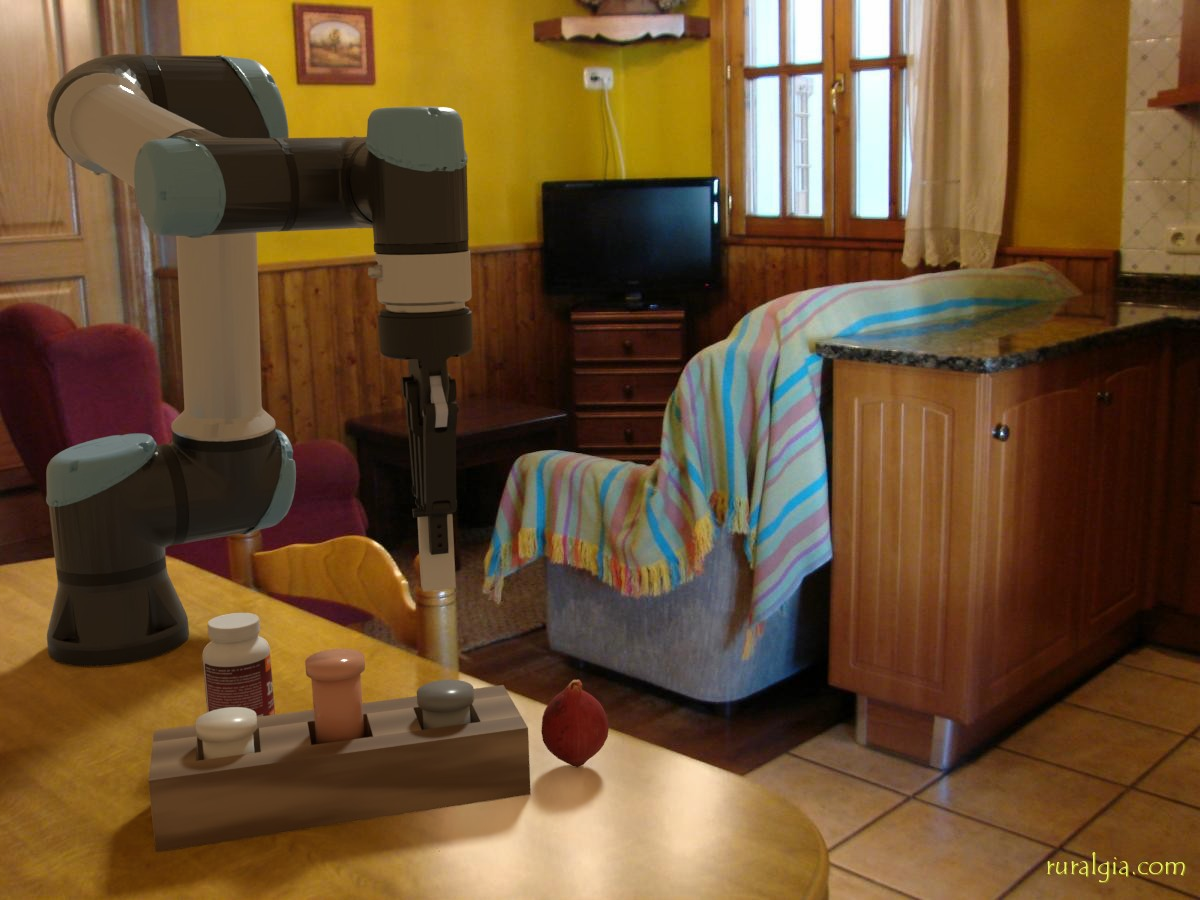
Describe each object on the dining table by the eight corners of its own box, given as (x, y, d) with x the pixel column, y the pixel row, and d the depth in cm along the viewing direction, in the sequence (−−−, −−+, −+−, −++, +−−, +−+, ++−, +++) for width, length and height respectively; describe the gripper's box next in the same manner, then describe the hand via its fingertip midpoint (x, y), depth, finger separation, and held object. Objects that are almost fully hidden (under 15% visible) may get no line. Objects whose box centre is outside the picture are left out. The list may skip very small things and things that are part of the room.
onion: (560, 786, 112) (557, 698, 110) (532, 761, 117) (528, 676, 115) (620, 771, 115) (618, 684, 113) (590, 747, 120) (587, 663, 118)
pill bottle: (286, 733, 125) (277, 622, 122) (221, 750, 121) (211, 636, 119) (263, 712, 130) (254, 605, 127) (200, 728, 126) (190, 618, 124)
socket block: (160, 796, 112) (154, 730, 111) (506, 746, 120) (503, 684, 119) (155, 852, 103) (148, 780, 102) (530, 794, 111) (528, 727, 110)
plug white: (204, 801, 111) (195, 711, 109) (263, 792, 112) (255, 704, 110) (203, 827, 106) (194, 734, 105) (265, 818, 108) (257, 725, 106)
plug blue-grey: (418, 770, 116) (413, 683, 114) (472, 762, 117) (467, 676, 115) (426, 793, 111) (421, 704, 109) (482, 785, 112) (478, 696, 111)
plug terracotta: (310, 741, 112) (303, 652, 111) (367, 733, 114) (361, 645, 112) (314, 764, 108) (307, 672, 106) (373, 756, 109) (367, 665, 107)
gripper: (368, 300, 111) (383, 569, 116) (387, 316, 99) (404, 616, 103) (456, 296, 113) (468, 561, 118) (486, 311, 100) (497, 606, 105)
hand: (438, 587), depth 111 cm, fingers closed
